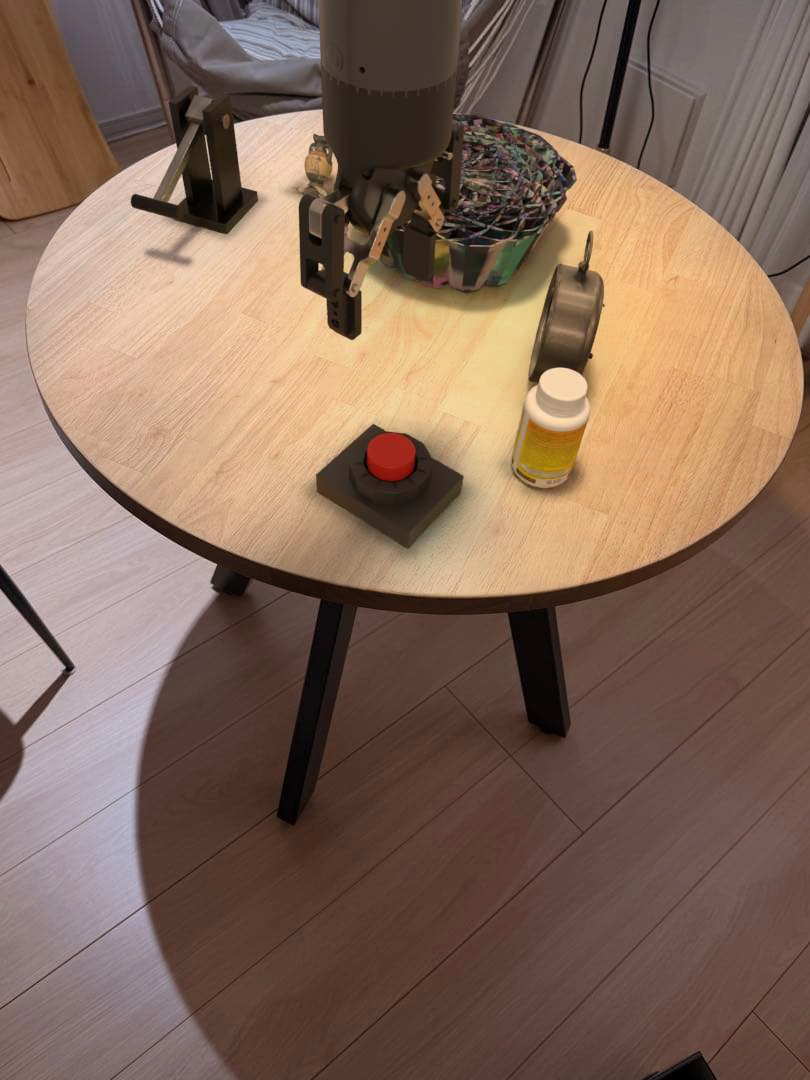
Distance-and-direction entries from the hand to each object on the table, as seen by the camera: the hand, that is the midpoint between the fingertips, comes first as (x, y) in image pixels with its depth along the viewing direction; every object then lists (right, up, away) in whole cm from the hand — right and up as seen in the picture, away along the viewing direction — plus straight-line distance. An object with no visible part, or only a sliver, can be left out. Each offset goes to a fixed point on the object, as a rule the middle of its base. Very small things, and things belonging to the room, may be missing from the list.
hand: (383, 303), depth 56 cm
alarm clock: (+16, -1, +23) cm, 29 cm away
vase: (-9, +27, +43) cm, 52 cm away
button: (0, -10, +11) cm, 15 cm away
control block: (0, -13, +14) cm, 19 cm away
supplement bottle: (+14, -10, +16) cm, 24 cm away
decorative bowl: (+7, +19, +38) cm, 43 cm away
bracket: (-21, +23, +39) cm, 50 cm away
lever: (-22, +24, +30) cm, 44 cm away
